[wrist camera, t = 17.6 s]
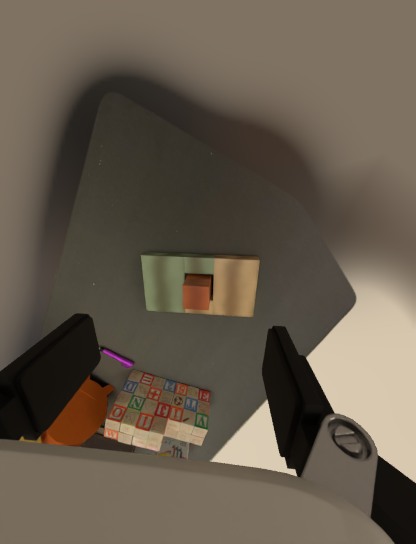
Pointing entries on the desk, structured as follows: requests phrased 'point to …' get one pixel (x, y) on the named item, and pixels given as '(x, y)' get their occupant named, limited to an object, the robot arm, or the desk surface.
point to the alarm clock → (79, 416)
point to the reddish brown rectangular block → (197, 291)
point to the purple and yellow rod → (118, 358)
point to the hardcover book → (106, 442)
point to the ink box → (173, 448)
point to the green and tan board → (226, 268)
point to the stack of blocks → (157, 412)
